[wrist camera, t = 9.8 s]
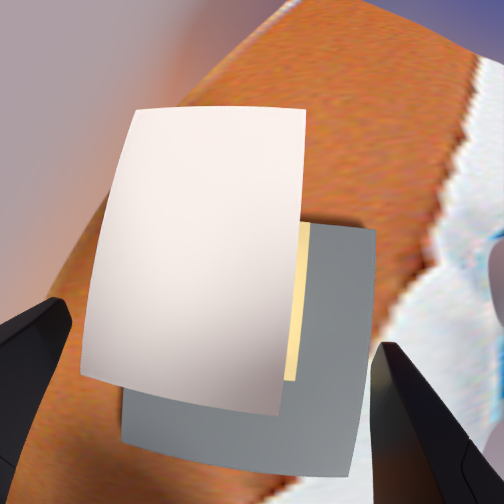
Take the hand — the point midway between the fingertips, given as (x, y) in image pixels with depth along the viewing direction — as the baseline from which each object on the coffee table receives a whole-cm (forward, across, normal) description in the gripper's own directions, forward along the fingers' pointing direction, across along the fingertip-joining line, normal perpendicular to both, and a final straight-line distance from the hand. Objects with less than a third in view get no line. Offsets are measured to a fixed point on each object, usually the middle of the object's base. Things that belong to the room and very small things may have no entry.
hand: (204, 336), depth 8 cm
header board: (+7, 0, +8) cm, 11 cm away
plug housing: (+8, 0, +5) cm, 10 cm away
